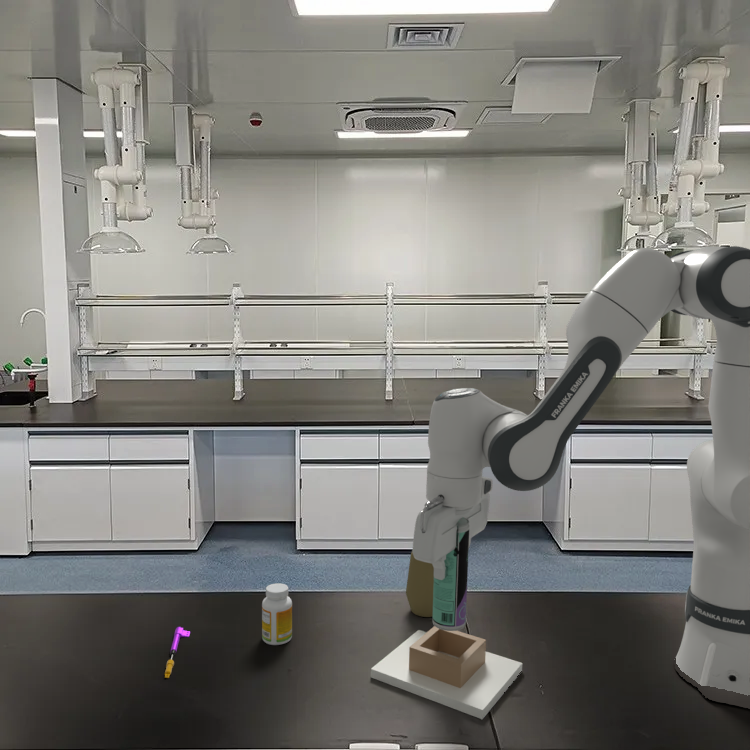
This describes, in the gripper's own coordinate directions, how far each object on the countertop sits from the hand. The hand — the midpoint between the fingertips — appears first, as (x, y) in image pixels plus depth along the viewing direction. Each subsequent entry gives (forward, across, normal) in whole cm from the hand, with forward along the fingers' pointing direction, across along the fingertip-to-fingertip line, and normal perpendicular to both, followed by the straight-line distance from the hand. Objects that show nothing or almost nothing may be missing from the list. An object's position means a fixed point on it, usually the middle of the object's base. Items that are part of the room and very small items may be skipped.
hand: (450, 570), depth 117 cm
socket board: (+18, 0, 0) cm, 18 cm away
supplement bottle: (+19, -7, +31) cm, 37 cm away
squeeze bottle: (+18, +18, +14) cm, 29 cm away
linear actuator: (+19, -20, +42) cm, 50 cm away
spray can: (+9, 0, 0) cm, 9 cm away
